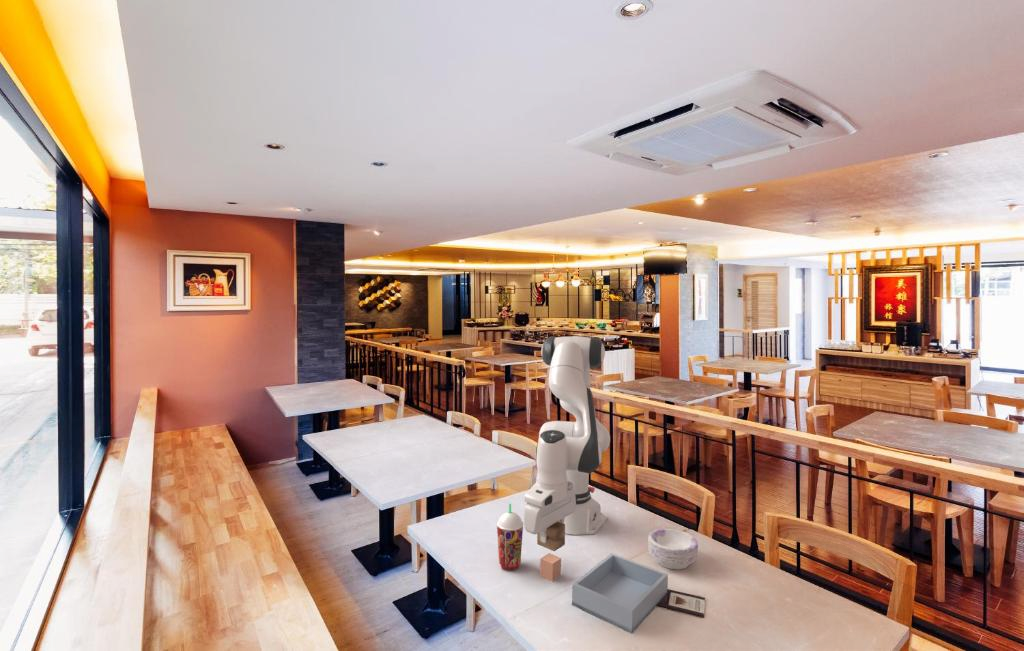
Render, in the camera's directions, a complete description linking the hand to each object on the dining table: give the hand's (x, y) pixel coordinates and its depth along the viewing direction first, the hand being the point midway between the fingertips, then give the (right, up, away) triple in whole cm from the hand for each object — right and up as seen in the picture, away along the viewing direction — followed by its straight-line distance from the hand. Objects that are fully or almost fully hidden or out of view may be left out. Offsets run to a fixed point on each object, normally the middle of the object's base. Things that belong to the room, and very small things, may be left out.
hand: (551, 537), depth 142 cm
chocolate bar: (+33, -18, -1) cm, 38 cm away
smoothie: (-12, -16, +16) cm, 26 cm away
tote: (+19, -17, -1) cm, 26 cm away
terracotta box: (+1, -16, +11) cm, 20 cm away
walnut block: (0, -2, 0) cm, 2 cm away
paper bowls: (+40, -16, +19) cm, 48 cm away
